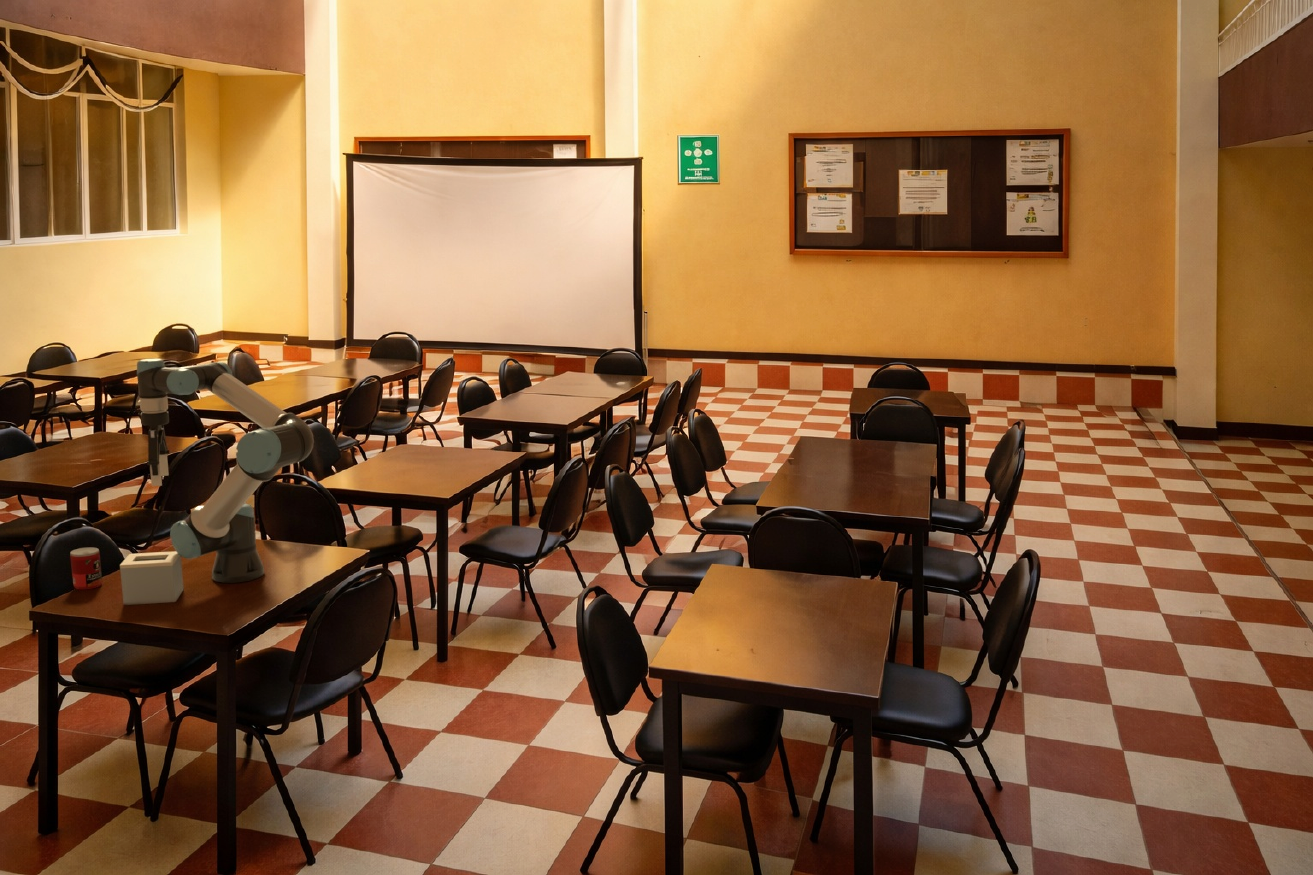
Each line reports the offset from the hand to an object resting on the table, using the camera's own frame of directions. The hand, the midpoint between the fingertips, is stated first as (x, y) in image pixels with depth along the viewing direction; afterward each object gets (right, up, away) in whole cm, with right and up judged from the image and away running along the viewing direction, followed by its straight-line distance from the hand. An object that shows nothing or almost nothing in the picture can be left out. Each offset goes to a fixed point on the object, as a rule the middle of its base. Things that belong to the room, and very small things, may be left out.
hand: (160, 480), depth 329 cm
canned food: (-23, -32, +2) cm, 39 cm away
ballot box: (+2, -34, -8) cm, 35 cm away
